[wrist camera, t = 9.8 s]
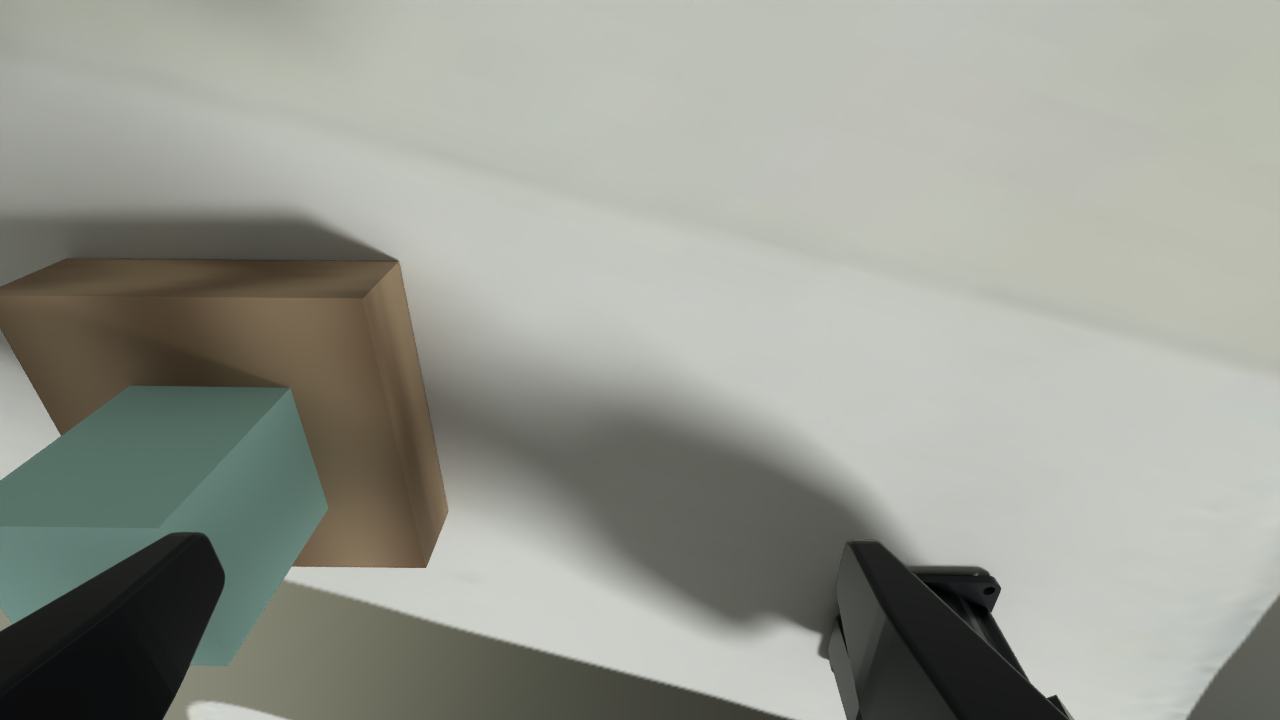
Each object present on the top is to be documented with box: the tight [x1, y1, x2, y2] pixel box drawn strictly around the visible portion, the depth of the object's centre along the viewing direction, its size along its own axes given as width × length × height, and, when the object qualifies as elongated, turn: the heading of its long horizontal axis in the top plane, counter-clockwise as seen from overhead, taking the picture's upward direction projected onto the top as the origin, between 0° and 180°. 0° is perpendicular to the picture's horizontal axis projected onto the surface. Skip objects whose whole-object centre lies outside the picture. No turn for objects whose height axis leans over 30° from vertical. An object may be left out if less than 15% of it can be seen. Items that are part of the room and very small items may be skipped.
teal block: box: [0, 386, 328, 666], centre depth 18 cm, size 5×5×6 cm
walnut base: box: [0, 259, 448, 568], centre depth 22 cm, size 11×11×3 cm
